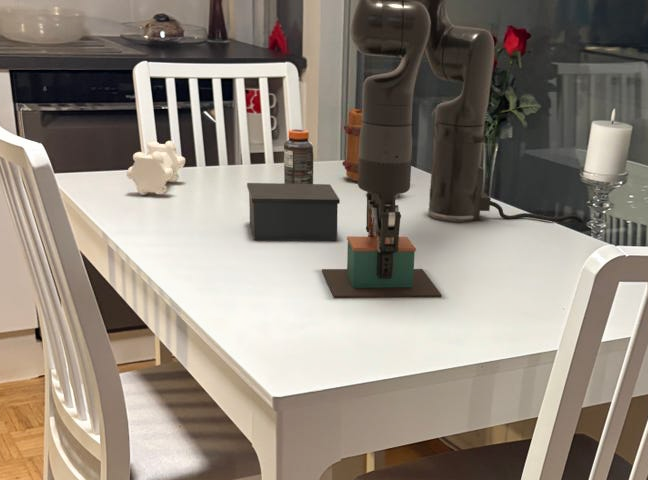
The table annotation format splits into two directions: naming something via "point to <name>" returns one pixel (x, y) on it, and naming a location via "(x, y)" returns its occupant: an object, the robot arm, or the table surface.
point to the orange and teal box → (365, 263)
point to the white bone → (156, 167)
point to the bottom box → (293, 211)
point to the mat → (344, 288)
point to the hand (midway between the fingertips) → (380, 270)
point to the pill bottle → (298, 158)
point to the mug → (353, 143)
